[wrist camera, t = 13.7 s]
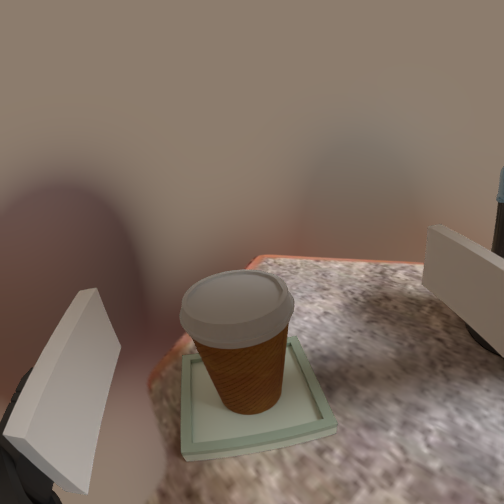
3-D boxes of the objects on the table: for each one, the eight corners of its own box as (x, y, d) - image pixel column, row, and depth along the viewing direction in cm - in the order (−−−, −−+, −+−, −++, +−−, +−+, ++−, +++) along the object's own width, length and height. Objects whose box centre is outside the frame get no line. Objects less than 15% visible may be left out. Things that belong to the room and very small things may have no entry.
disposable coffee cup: (191, 384, 31) (161, 290, 26) (263, 350, 35) (252, 258, 30) (233, 444, 23) (205, 346, 18) (317, 395, 27) (319, 293, 23)
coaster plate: (296, 346, 37) (296, 335, 36) (335, 433, 24) (337, 423, 23) (185, 366, 35) (182, 355, 34) (186, 461, 22) (180, 452, 22)
